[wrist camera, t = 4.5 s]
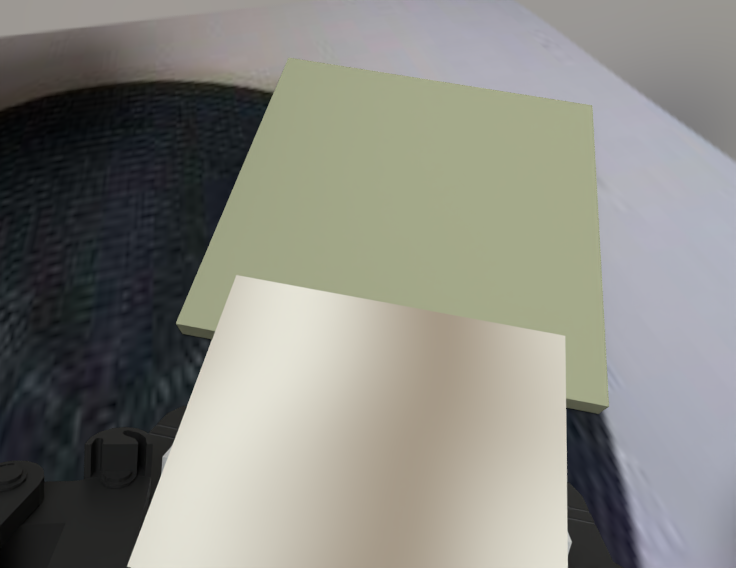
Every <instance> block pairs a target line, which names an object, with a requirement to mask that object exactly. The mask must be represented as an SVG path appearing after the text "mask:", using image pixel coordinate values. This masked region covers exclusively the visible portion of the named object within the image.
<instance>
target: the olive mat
mask: <svg viewBox="0 0 736 568" xmlns="http://www.w3.org/2000/svg"><path fill="white" fill-rule="evenodd" d="M236 275H239V276H244V277H250V278H255V279H261V280H266V281H271V282H277V283H282V284H288V285H293V286H298V287H304V288H309V289H315V290H320V291H325V292H331V293H336V294H342V295H347V296H352V297H358V298H363V299H369V300H374V301H380V302H385V303H390V304H396V305H401V306H407V307H412V308H417V309H423V310H428V311H434V312H439V313H444V314H450V315H455V316H461V317H466V318H471V319H477V320H482V321H488V322H493V323H498V324H504V325H509V326H515V327H520V328H526V329H531V330H536V331H542V332H547V333H553V334H558V335H563V336H565V353H566V408H571V409H576V410H581V411H586V412H592V413H597V414H599V413H600V412H602V411H603V410H605V409H606V408H608V407H609V399H608V381H607V363H606V345H605V327H604V309H603V291H602V273H601V255H600V236H599V218H598V200H597V182H596V164H595V146H594V128H593V110H592V105H586V104H579V103H573V102H567V101H560V100H554V99H548V98H541V97H535V96H529V95H522V94H516V93H510V92H503V91H497V90H490V89H484V88H478V87H471V86H465V85H459V84H452V83H446V82H440V81H433V80H427V79H420V78H414V77H408V76H401V75H395V74H389V73H382V72H376V71H370V70H363V69H357V68H351V67H344V66H338V65H331V64H325V63H319V62H312V61H306V60H300V59H293V58H288V60H287V63H286V65H285V68H284V70H283V72H282V75H281V77H280V79H279V82H278V84H277V86H276V89H275V91H274V93H273V96H272V98H271V101H270V103H269V105H268V108H267V110H266V112H265V115H264V117H263V119H262V122H261V124H260V126H259V129H258V131H257V134H256V136H255V138H254V141H253V143H252V145H251V148H250V150H249V152H248V155H247V157H246V159H245V162H244V164H243V167H242V169H241V171H240V174H239V176H238V178H237V181H236V183H235V185H234V188H233V190H232V192H231V195H230V197H229V200H228V202H227V204H226V207H225V209H224V211H223V214H222V216H221V218H220V221H219V223H218V225H217V228H216V230H215V233H214V235H213V237H212V240H211V242H210V244H209V247H208V249H207V251H206V254H205V256H204V258H203V261H202V263H201V266H200V268H199V270H198V273H197V275H196V277H195V280H194V282H193V284H192V287H191V289H190V291H189V294H188V296H187V299H186V301H185V303H184V306H183V308H182V310H181V313H180V315H179V317H178V320H177V322H176V324H177V326H178V328H179V329H180V331H181V332H182V334H187V335H192V336H197V337H203V338H208V339H213V336H214V333H215V331H216V328H217V325H218V323H219V320H220V317H221V315H222V312H223V309H224V307H225V304H226V301H227V299H228V296H229V293H230V291H231V288H232V285H233V283H234V280H235V277H236Z"/></svg>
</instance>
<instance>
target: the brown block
mask: <svg viewBox="0 0 736 568" xmlns="http://www.w3.org/2000/svg"><path fill="white" fill-rule="evenodd" d="M127 567H131V568H568V536H567V445H566V353H565V336H563V335H558V334H553V333H547V332H542V331H536V330H531V329H526V328H520V327H515V326H509V325H504V324H498V323H493V322H488V321H482V320H477V319H471V318H466V317H461V316H455V315H450V314H444V313H439V312H434V311H428V310H423V309H417V308H412V307H407V306H401V305H396V304H390V303H385V302H380V301H374V300H369V299H363V298H358V297H352V296H347V295H342V294H336V293H331V292H325V291H320V290H315V289H309V288H304V287H298V286H293V285H288V284H282V283H277V282H271V281H266V280H261V279H255V278H250V277H244V276H239V275H236V277H235V280H234V283H233V285H232V288H231V291H230V293H229V296H228V299H227V301H226V304H225V307H224V309H223V312H222V315H221V317H220V320H219V323H218V325H217V328H216V331H215V333H214V336H213V339H212V341H211V344H210V347H209V349H208V352H207V355H206V357H205V360H204V363H203V365H202V368H201V371H200V373H199V376H198V379H197V381H196V384H195V387H194V389H193V392H192V395H191V397H190V400H189V403H188V405H187V408H186V411H185V413H184V416H183V419H182V421H181V424H180V427H179V429H178V432H177V435H176V437H175V440H174V443H173V445H172V448H171V451H170V453H169V456H168V459H167V461H166V464H165V467H164V469H163V472H162V475H161V477H160V480H159V483H158V485H157V488H156V491H155V493H154V496H153V499H152V501H151V504H150V507H149V509H148V512H147V515H146V517H145V520H144V522H143V525H142V528H141V530H140V533H139V536H138V538H137V541H136V544H135V546H134V549H133V552H132V554H131V557H130V560H129V562H128V565H127Z"/></svg>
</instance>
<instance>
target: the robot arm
mask: <svg viewBox="0 0 736 568" xmlns="http://www.w3.org/2000/svg"><path fill="white" fill-rule="evenodd" d="M186 408H187V406H182V407H180V408H178V409H176V410H174V411H172V412H169V413H168V414H167V415H166V416H165V417H164V418H163V419H162V420H161V421H160V422H159V423H158V424H157V426H155V427H154V428H153V429H152V430H151V431H150V432H149V434H148V433H147V432H145V431H143V430H140V429H137V428H128V427H122V428H112V429H109V430H105V431H102V432H99V433H98V434H96V435H94V436H92V437H91V438H90V439H89V440H88V441H87V442H86V444H85V458H84V480H79V481H55V482H44V471H43V468H41V467H40V466H39V465H38V464H36V463H32V462H29V461H8V462H3V463H0V568H131V567H127V565H128V562H129V560H130V557H131V554H132V552H133V549H134V546H135V544H136V541H137V538H138V536H139V533H140V530H141V528H142V525H143V522H144V520H145V517H146V515H147V512H148V509H149V507H150V504H151V501H152V499H153V496H154V493H155V491H156V488H157V485H158V483H159V480H160V477H161V475H162V472H163V469H164V467H165V464H166V461H167V459H168V456H169V453H170V451H171V448H172V445H173V443H174V440H175V437H176V435H177V432H178V429H179V427H180V424H181V421H182V419H183V416H184V413H185V411H186ZM567 536H568V568H623V567H621V566H619V565H618V564H616V563H614V562H613V561H612V558H611V556H610V554H609V552H608V550H607V548H606V546H605V544H604V542H603V539H602V537H601V535H600V533H599V531H598V529H597V527H596V525H594V520H593V518H592V516H591V514H590V513H589V510H588V508H587V505H586V503H585V501H584V499H583V497H582V495H581V494H580V493H579V492H578V491H577V490H576V489H575V488H574V487H573V486H572V485H571V484H570V483H569V482H567Z"/></svg>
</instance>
